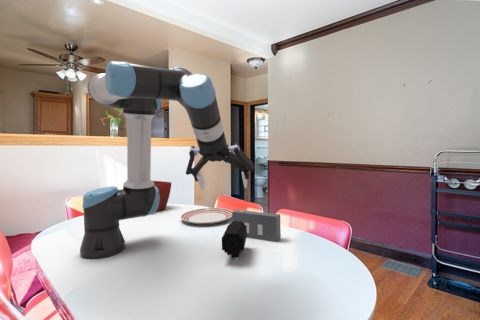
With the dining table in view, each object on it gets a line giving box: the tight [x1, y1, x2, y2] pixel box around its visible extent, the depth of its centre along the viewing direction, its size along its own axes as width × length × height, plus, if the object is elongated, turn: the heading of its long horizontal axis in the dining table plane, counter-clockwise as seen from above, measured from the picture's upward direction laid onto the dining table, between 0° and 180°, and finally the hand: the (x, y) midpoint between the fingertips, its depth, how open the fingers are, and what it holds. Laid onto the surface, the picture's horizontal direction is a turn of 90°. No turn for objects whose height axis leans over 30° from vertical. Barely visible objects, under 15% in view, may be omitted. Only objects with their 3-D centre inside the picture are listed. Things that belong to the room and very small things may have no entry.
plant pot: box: [152, 180, 172, 212], centre depth 168 cm, size 19×19×17 cm
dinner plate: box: [180, 207, 234, 226], centre depth 143 cm, size 28×27×3 cm
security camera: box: [221, 220, 248, 258], centre depth 96 cm, size 7×18×10 cm, turn 174°
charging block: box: [231, 209, 282, 243], centre depth 114 cm, size 4×20×10 cm, turn 60°
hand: (224, 185), depth 87 cm, fingers open, 13 cm apart
